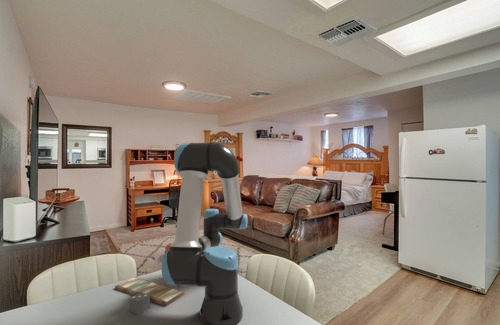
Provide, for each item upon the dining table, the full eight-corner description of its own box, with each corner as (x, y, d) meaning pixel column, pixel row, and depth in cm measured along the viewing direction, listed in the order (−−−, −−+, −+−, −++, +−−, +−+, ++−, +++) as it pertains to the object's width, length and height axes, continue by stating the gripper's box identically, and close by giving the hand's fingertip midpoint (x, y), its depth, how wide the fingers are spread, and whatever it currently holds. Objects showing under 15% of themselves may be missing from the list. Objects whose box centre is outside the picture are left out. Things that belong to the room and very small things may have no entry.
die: (149, 308, 94) (149, 294, 95) (138, 315, 90) (138, 301, 90) (140, 304, 97) (140, 291, 97) (129, 311, 92) (129, 297, 92)
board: (184, 294, 104) (184, 291, 104) (165, 306, 95) (165, 302, 95) (135, 279, 118) (135, 276, 118) (115, 288, 109) (115, 285, 109)
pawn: (178, 272, 103) (178, 242, 103) (169, 277, 98) (170, 245, 99) (169, 270, 105) (170, 241, 105) (161, 275, 101) (161, 244, 101)
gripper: (212, 256, 114) (174, 275, 93) (185, 251, 121) (144, 267, 101) (212, 239, 114) (175, 255, 93) (185, 235, 122) (145, 248, 101)
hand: (159, 261), depth 97 cm, fingers closed on pawn, 3 cm apart
